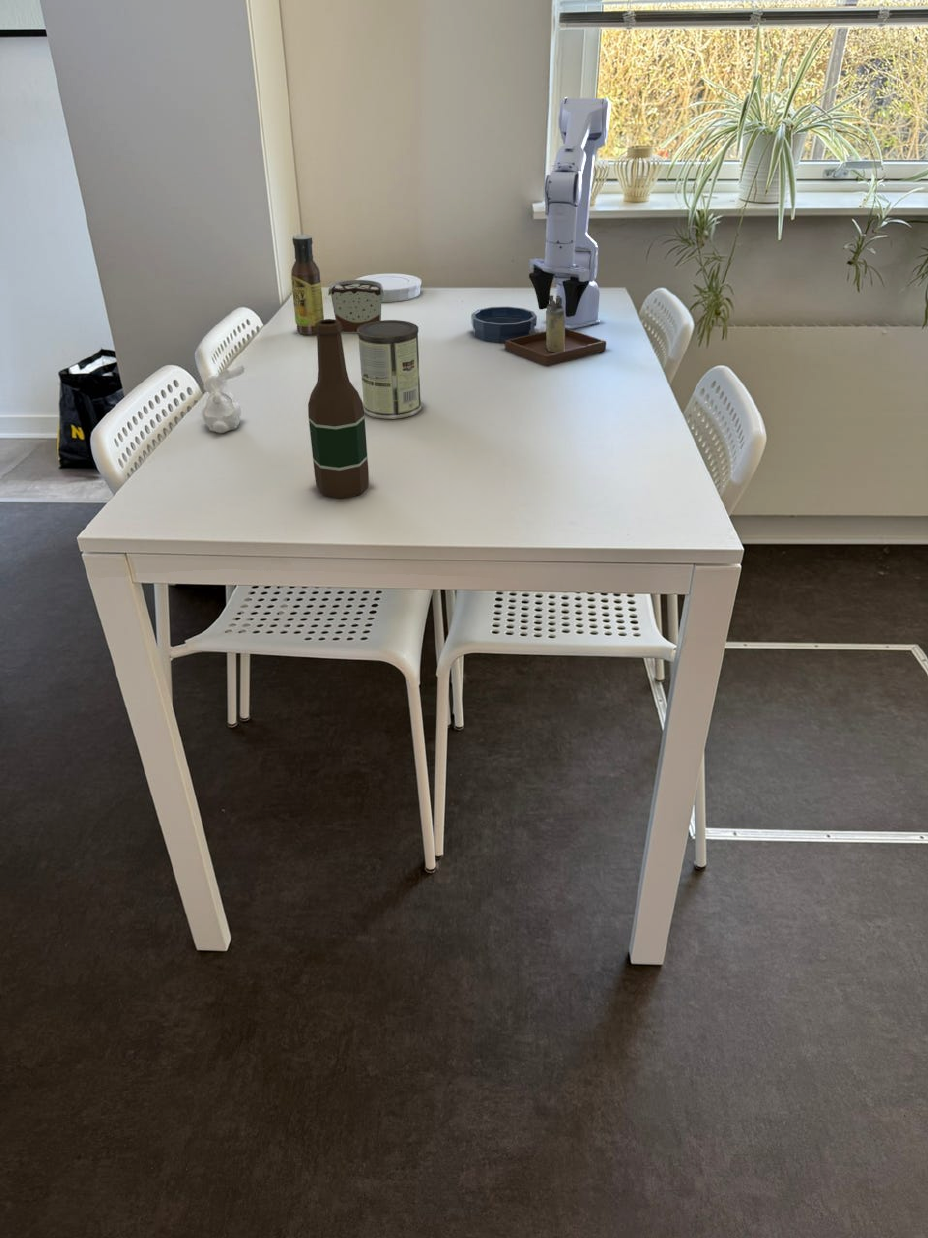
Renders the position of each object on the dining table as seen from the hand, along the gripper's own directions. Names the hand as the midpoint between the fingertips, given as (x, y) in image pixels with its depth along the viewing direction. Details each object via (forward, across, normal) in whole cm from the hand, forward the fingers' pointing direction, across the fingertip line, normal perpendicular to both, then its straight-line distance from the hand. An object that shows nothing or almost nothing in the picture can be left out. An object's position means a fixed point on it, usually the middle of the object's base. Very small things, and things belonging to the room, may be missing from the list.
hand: (556, 312), depth 180 cm
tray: (+8, 0, 0) cm, 8 cm away
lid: (+8, -61, +1) cm, 62 cm away
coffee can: (+8, +4, -46) cm, 46 cm away
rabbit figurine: (+8, -9, -70) cm, 71 cm away
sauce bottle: (+8, -46, -30) cm, 55 cm away
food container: (+8, -40, -21) cm, 46 cm away
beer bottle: (+8, +25, -70) cm, 75 cm away
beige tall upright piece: (+7, 0, 0) cm, 7 cm away
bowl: (+8, -16, 0) cm, 18 cm away
